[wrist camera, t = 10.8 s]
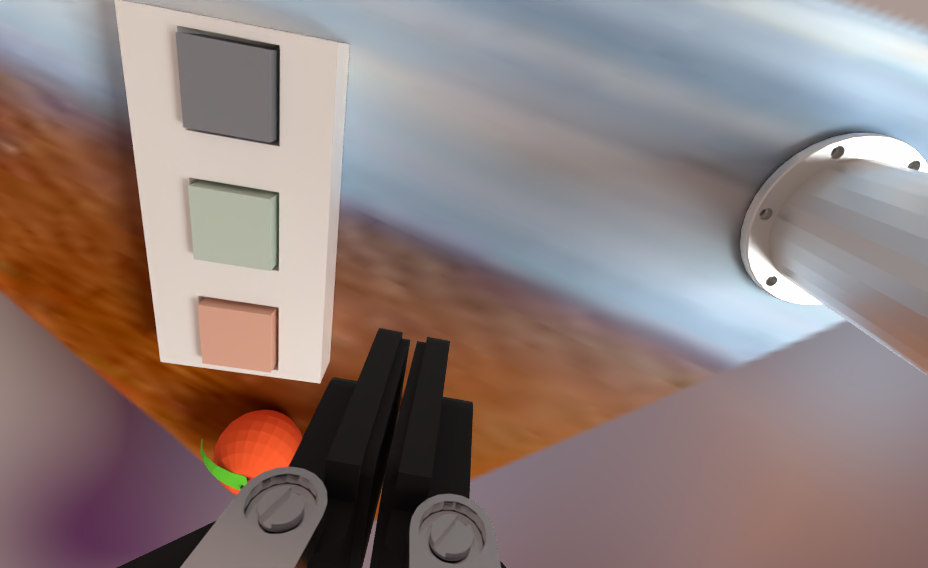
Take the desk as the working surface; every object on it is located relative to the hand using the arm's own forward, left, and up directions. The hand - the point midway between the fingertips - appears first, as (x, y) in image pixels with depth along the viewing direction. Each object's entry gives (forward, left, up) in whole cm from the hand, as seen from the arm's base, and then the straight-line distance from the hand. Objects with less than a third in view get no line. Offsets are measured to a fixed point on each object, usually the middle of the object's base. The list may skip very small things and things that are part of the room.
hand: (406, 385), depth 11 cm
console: (+13, +5, -24) cm, 27 cm away
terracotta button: (+13, +14, -23) cm, 30 cm away
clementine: (+12, +25, -24) cm, 36 cm away
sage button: (+13, +5, -23) cm, 27 cm away
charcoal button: (+13, -3, -23) cm, 26 cm away
